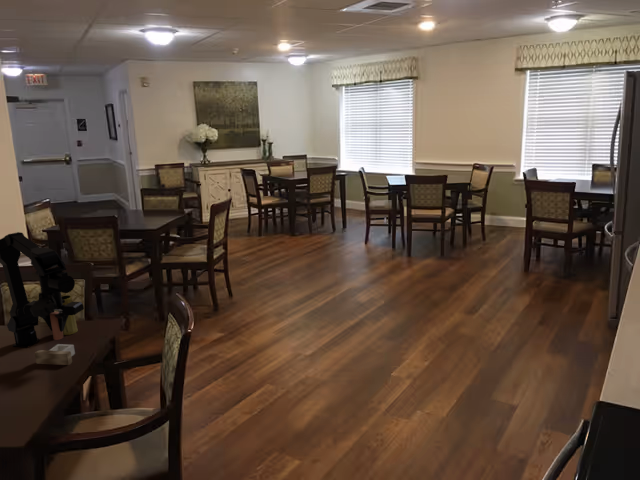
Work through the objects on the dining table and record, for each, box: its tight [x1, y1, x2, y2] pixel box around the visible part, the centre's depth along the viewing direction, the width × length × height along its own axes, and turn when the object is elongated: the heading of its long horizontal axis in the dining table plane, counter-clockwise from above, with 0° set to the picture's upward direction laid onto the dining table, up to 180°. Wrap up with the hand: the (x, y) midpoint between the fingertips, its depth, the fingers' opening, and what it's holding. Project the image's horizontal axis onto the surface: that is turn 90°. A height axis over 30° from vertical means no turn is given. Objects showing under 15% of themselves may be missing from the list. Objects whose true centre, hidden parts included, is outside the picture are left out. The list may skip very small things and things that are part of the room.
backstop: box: [34, 349, 73, 366], centre depth 174 cm, size 12×2×4 cm, turn 81°
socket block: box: [48, 343, 76, 358], centre depth 178 cm, size 6×6×4 cm
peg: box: [50, 311, 64, 341], centre depth 175 cm, size 3×3×9 cm
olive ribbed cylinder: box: [57, 294, 79, 336], centre depth 198 cm, size 6×6×14 cm
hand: (57, 331), depth 176 cm, fingers closed on peg, 3 cm apart
